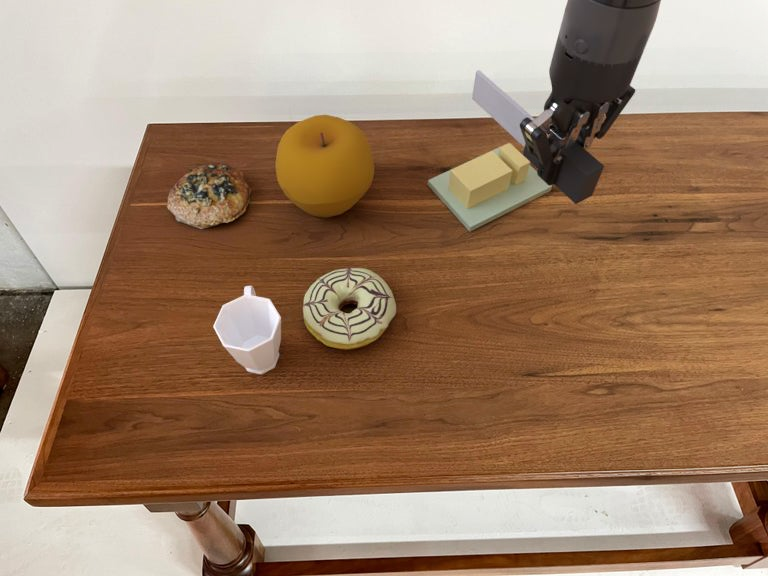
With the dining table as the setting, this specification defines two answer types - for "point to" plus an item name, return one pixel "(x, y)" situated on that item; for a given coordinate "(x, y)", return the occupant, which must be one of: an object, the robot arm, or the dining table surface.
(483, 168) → the butter block
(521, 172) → the butter slice
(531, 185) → the butter board
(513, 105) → the knife
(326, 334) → the decorated donut
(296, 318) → the dining table surface
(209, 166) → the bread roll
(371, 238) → the dining table surface
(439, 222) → the dining table surface
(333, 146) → the apple
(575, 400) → the dining table surface
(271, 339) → the cup
